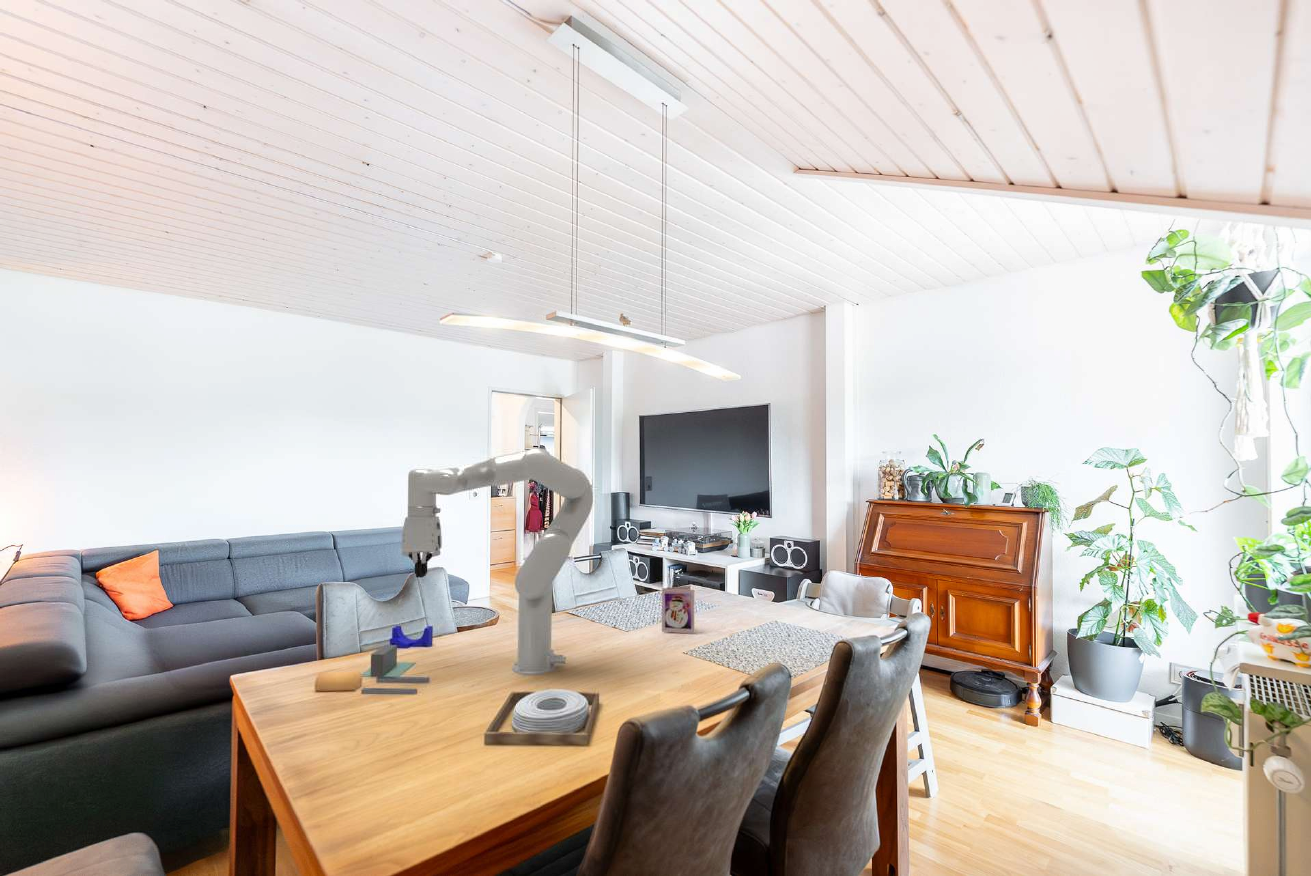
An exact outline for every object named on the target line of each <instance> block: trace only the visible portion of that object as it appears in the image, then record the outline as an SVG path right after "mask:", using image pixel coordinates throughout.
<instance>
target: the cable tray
mask: <svg viewBox="0 0 1311 876" xmlns="http://www.w3.org/2000/svg"><path fill="white" fill-rule="evenodd" d="M535 692H536V691H516V690H515V691H513V690H512V691H511V692H510V694H509V695H508V697H507V698H506V700H505V702H504V703H503V705H502V706H501V708H500V709H499V710H498V712H497V713H496V715H495V717H494V718H493V720H492V721H491V723H490V724H489V726H488V727H487V729H486V730H485V732H484V736H483V739H484V740H483V742H484V743H483V745H495V746H496V745H500V746H501V745H502V746H509V745H511V746H512V745H513V746H514V745H515V746H516V745H517V746H518V745H519V746H585V747H586V746H588V742H589V739H590V736H591V732H592V729H593V726H594V722H595V719H596V716H597V711H598V708H599V705H600V692H598V691H597V692H594V691H593V692H591V691H589V692H588V691H586V692H585V691H584V692H581V691H576V692H577V693H579V694H581V695H582V696H584V697H585V698H586V699H587V701H588V705H589V706H590V705H591V708H590V710H589V717H588V720H587V724H586V725H585V726H584V730H583V732H574V733H543V732H517V731H498V730H499V728H500V727H501V725H502V723H503V722H504V720H505V719H506V718H507V716H508V715H509V713H510V712H511V710H512V709H513V707H514V705H516V704H517V703H518V702H519V701H520V700H521V699H523V698H524V697H526V696H528V695H530V694H532V693H535Z"/></svg>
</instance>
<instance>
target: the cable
mask: <svg viewBox="0 0 1311 876" xmlns="http://www.w3.org/2000/svg"><path fill="white" fill-rule="evenodd" d="M534 692H535V693H532V694H530V695H528V696H526V697H524V698H523V699H521V700H520V701H519V702H518V703H517V704H515V707H514V709H513V712H512V718H511V726H512V729H513V730H514V732H543V733H577V732H578V731H580V730H581V729H583V728H585V727H586V724H587V720H588V717H589V714H590V710H589V709H590V705H588V701H587V699H586V698H585V697H584V696H582V695H581V694H579V693H577V692H578V691H573V690H570V689H569V690H568V689H563V688H559V689H558V688H554V689H553V688H551V689H544V690H543V689H541V690H538V691H534Z"/></svg>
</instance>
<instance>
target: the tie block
mask: <svg viewBox="0 0 1311 876" xmlns="http://www.w3.org/2000/svg"><path fill="white" fill-rule="evenodd" d="M397 653H398V648H397V645H390V644H384V645H383V646H381V647H380V648H379V649H377V650H376V651H374V652H373V653H371V654H370V668H371V676H384V675H386V674H387V673H388V672H389V671H391V670H392V669H393V668H395V667H396V666H397V662H398V654H397Z"/></svg>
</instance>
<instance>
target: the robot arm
mask: <svg viewBox="0 0 1311 876" xmlns="http://www.w3.org/2000/svg"><path fill="white" fill-rule="evenodd" d="M529 480H533V481H535V482H537V483H538V484H540V485H542V486H543V487H545V488H547V489H548V490H550V491H552V492H554V493H556V495H559V496H561V497H562V498H564V499H563V503H562V504H561V506H560V508H559V509H558V510H557V513H556V515H555V516H554V518H553V519H552V521H551V522H550V524H549V526H548V527H547V529H546V530H545V531H544V532H543V533H542V534H541V536H540V537H539V538H538V539H537V541H536V543H535V544H534V546H533V548H532V549H531V551H530V553H529V554H528V556H527V557H526V559H525V561H524V562H523V564H522V566H521V567H520V568H519V570H518V571H517V573H516V575H515V578H514V587H515V590H516V593H517V594H518V612H517V613H518V616H517V618H518V620H517V622H518V623H517V625H518V627H517V660H516V661H515V662H513V664H512V668H511V669H512V672H513V673H514V674H518V675H521V676H522V675H523V676H538V675H545V674H548V673H550V672H553V671H554V670H555V669H557V664H559V665H561V664H563V665H565V664H567V656H564V654H556V653H555V649H552V625H553V623H552V619H553V618H552V615H553V605H552V604H553V583H554V581H555V579H556V578H557V575H558V574H559V573H560V571H561V569H562V568H563V567H564V564H565V563H566V561H567V559H568V558H569V555H570V553H571V549H572V547H573V544H574V542H575V540H576V538H577V537H578V535H579V534H580V532H581V530H582V529H583V527H584V525H585V523H586V522H587V519H588V518H589V516H590V514H591V511H592V507H593V503H594V492H593V487H592V485H591V483H590V480H589V479H588V477H587V475H586V473H584V472H583V471H582V470H581V469H578V468H573V467H572V466H571V465H568V464H567V463H565V462H563V461H561V460H560V459H559V458H557V457H555V456H554V455H552V454H551V453H550V452H549V451H548V450H547V449H544V448H539V447H534V448H531V449H528V450H524V451H518V452H514V453H509V454H504V455H503V454H502V455H498V456H494V457H490V458H489V459H487V460H484V461H482V462H477V463H472V464H468V465H464V466H458V467H452V468H451V467H449V468H442V469H436V470H435V469H431V468H429V469H428V468H425V469H424V468H422V469H421V468H417V469H416V468H415V469H411V470H409V472H408V476H407V516H406V517H405V518H404V521H403V525H402V526H403V527H402V534H401V550H402V553H401V555H402V556H403V557H406V558H408V557H409V558H410V560H411V561H412V563H413V564H414V575H415V578H424V577H426V575H427V574H428V562H430V560H432V558H434V557H438V556H441V549H442V546H443V545H442V544H443V537H442V536H443V535H442V527H441V522H440V520H441V519H440V516H437V514H440V513H441V511H442V510H441V507H440V508H438V507H437V495H440V496H441V495H443V496H451V495H454V494H457V493H462V492H467V491H471V490H472V491H473V490H475V489H481V488H487V487H499V486H505V485H509V484H514V483H518V482H524V481H529Z"/></svg>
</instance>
